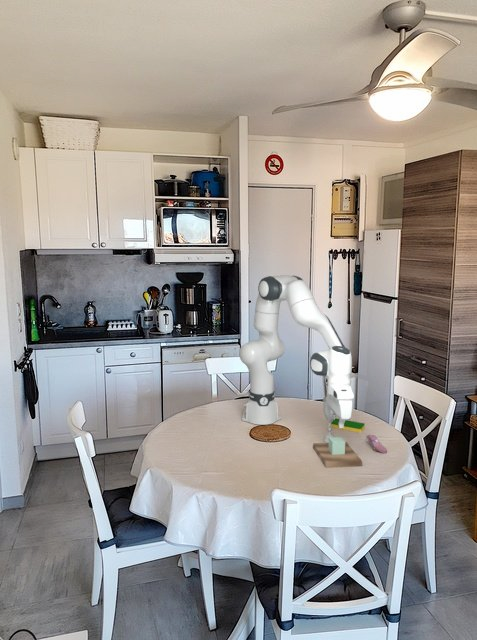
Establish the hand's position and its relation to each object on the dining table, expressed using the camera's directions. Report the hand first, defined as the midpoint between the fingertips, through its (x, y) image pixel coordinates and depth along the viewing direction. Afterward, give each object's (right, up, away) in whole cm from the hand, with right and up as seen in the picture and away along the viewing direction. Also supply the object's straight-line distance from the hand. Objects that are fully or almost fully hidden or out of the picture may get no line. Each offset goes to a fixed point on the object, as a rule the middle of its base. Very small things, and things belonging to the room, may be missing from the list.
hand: (337, 422), depth 188 cm
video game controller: (+18, -13, +9) cm, 24 cm away
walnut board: (0, -14, +2) cm, 14 cm away
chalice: (0, -12, +18) cm, 21 cm away
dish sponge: (+12, -10, +33) cm, 37 cm away
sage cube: (0, -12, +2) cm, 12 cm away
